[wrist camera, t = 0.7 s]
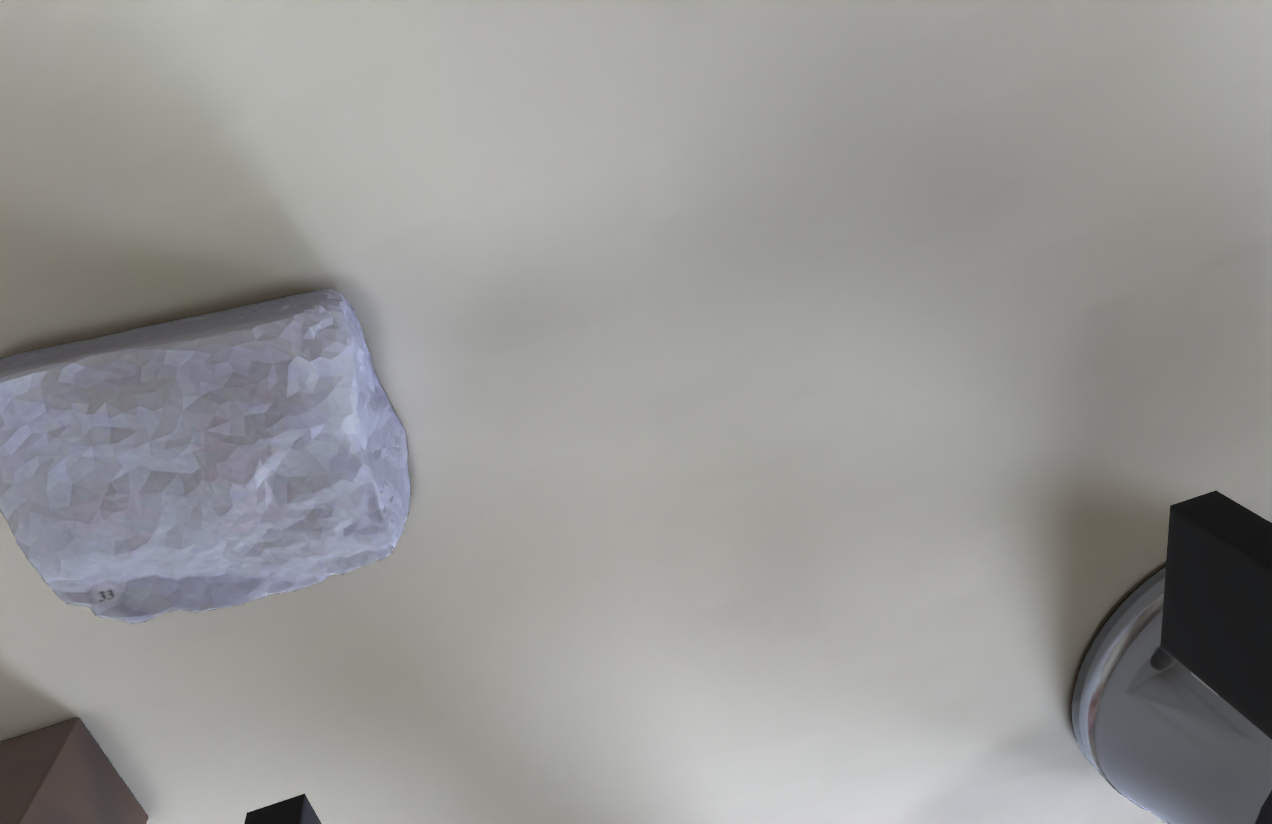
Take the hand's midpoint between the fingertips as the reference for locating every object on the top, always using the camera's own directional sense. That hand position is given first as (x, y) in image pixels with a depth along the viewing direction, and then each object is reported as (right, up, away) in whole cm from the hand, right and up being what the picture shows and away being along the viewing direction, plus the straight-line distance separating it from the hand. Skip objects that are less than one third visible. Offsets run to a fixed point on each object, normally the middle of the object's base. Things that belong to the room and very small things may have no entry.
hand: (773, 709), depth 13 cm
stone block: (-16, +3, +17) cm, 24 cm away
